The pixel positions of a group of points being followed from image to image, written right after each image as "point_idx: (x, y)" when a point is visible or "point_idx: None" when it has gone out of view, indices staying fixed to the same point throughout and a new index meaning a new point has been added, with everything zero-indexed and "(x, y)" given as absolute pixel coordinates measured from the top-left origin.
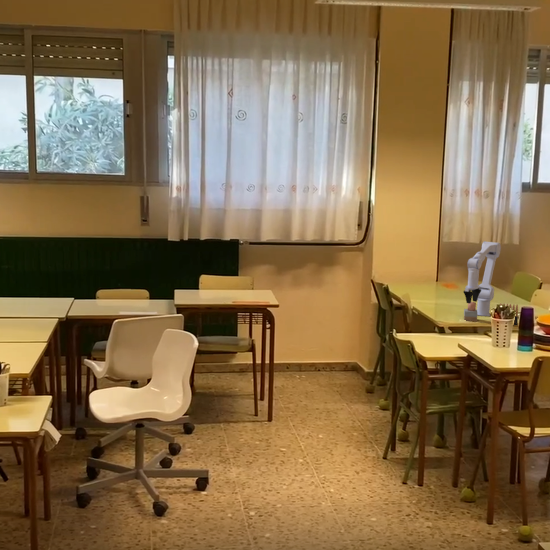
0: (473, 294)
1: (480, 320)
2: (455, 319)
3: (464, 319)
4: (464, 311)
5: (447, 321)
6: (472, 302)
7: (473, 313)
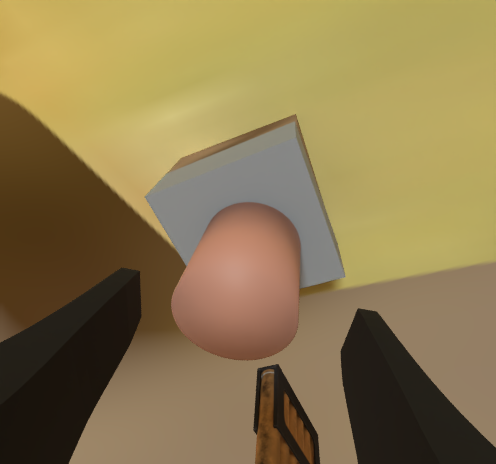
0: (402, 439)
1: None
2: (173, 55)
3: (177, 163)
4: (217, 163)
5: (14, 16)
6: (255, 319)
7: None
